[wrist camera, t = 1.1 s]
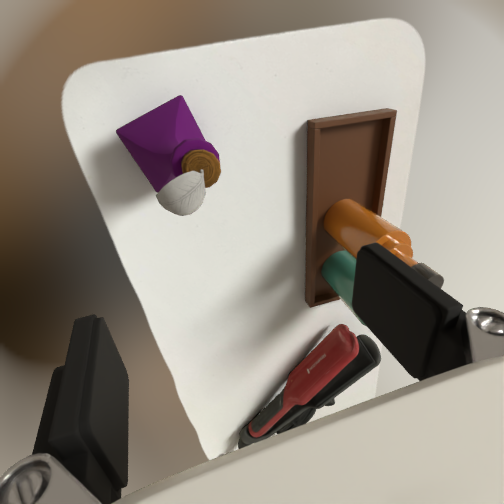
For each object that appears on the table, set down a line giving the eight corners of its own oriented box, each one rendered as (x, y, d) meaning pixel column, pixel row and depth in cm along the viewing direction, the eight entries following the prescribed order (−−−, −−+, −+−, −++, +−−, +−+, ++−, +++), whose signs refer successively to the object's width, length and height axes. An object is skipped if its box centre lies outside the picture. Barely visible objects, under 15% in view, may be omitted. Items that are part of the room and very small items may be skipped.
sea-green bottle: (321, 255, 52) (397, 333, 37) (357, 246, 53) (443, 318, 38) (320, 286, 55) (389, 370, 40) (353, 277, 56) (431, 355, 42)
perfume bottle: (177, 91, 35) (211, 115, 20) (210, 154, 39) (257, 211, 24) (116, 125, 34) (104, 174, 20) (155, 184, 39) (169, 261, 24)
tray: (307, 119, 41) (314, 122, 39) (387, 108, 43) (397, 110, 41) (304, 300, 56) (310, 308, 55) (363, 284, 59) (370, 290, 57)
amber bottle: (324, 203, 47) (412, 269, 32) (363, 195, 48) (464, 254, 34) (322, 241, 50) (401, 317, 36) (358, 232, 52) (449, 302, 37)
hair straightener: (220, 449, 71) (229, 490, 64) (334, 313, 60) (360, 345, 54) (272, 453, 79) (285, 490, 72) (382, 333, 68) (409, 363, 61)
